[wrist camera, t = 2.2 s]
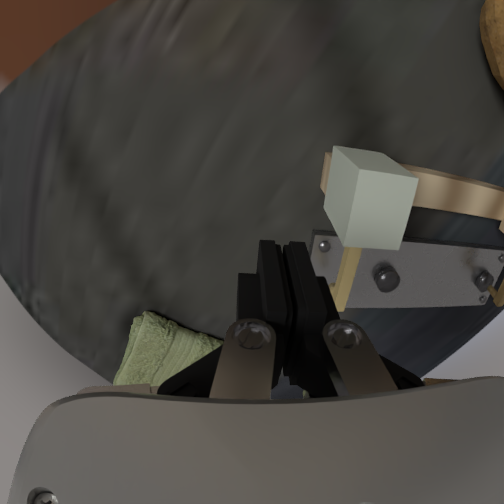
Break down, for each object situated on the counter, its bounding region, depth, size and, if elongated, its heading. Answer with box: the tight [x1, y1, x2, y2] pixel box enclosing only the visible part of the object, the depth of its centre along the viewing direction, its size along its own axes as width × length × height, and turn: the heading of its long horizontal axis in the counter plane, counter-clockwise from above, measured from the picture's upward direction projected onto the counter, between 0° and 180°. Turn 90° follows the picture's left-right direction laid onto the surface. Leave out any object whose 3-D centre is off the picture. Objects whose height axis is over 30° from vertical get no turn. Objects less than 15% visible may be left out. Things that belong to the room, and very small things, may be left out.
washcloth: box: [113, 311, 224, 386], centre depth 37 cm, size 13×18×3 cm
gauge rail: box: [320, 152, 504, 307], centre depth 24 cm, size 25×12×8 cm, turn 86°
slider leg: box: [324, 146, 419, 311], centre depth 22 cm, size 4×12×6 cm, turn 176°
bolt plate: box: [309, 230, 504, 308], centre depth 29 cm, size 25×8×2 cm, turn 86°
